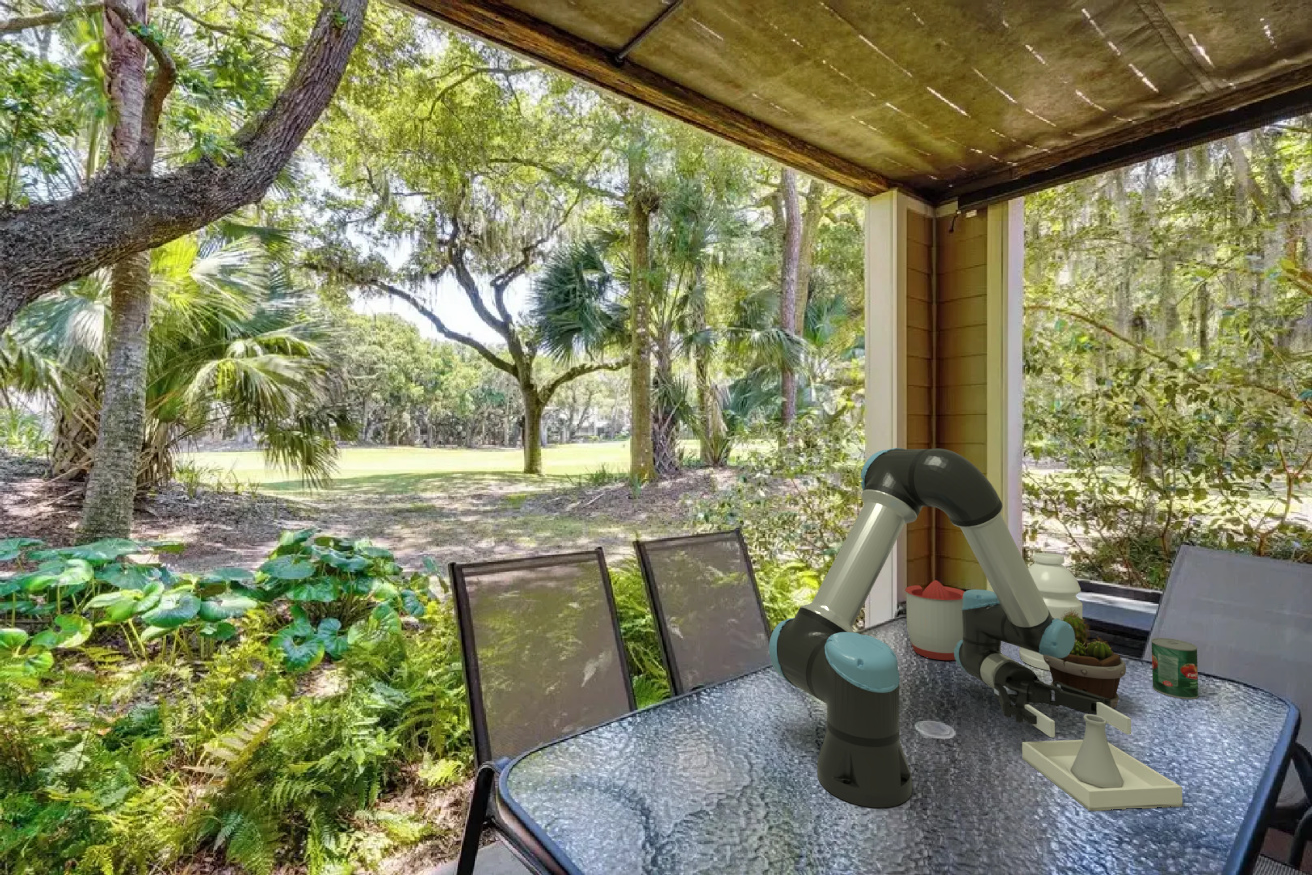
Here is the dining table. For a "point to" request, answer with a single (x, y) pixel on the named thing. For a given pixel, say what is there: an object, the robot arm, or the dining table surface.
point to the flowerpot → (1088, 664)
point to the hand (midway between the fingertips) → (1091, 728)
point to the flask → (1096, 756)
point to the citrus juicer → (934, 619)
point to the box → (1135, 792)
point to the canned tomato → (1175, 668)
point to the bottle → (1052, 595)
